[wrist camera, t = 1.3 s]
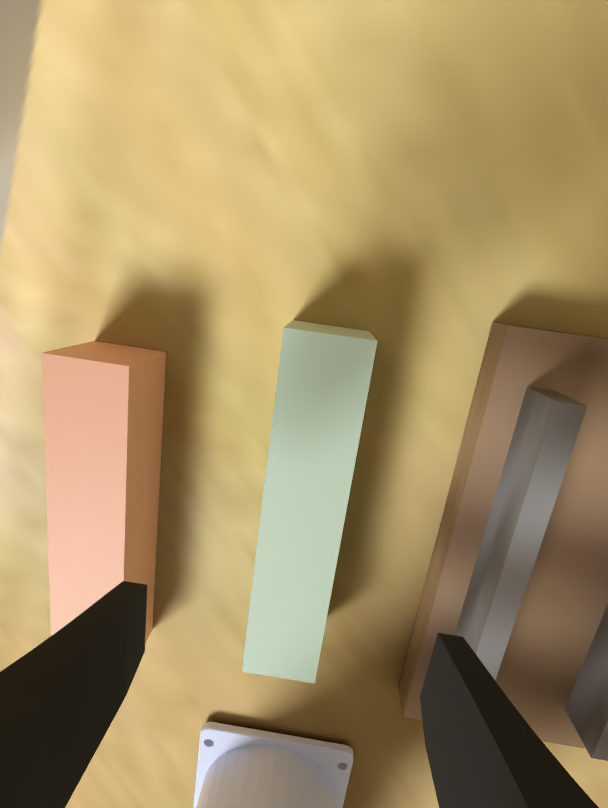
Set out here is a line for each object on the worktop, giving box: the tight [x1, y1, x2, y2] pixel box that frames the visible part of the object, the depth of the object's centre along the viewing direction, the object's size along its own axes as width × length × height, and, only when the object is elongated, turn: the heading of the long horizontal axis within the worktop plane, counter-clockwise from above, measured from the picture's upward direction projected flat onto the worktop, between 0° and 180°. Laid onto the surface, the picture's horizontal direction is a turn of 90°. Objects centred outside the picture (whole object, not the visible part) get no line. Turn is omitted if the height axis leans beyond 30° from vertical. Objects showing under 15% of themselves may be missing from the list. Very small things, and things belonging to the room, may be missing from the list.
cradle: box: [398, 322, 608, 761], centre depth 17 cm, size 18×9×4 cm, turn 172°
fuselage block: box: [242, 320, 378, 684], centre depth 17 cm, size 14×3×4 cm, turn 172°
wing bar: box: [42, 341, 166, 642], centre depth 18 cm, size 14×3×4 cm, turn 172°
